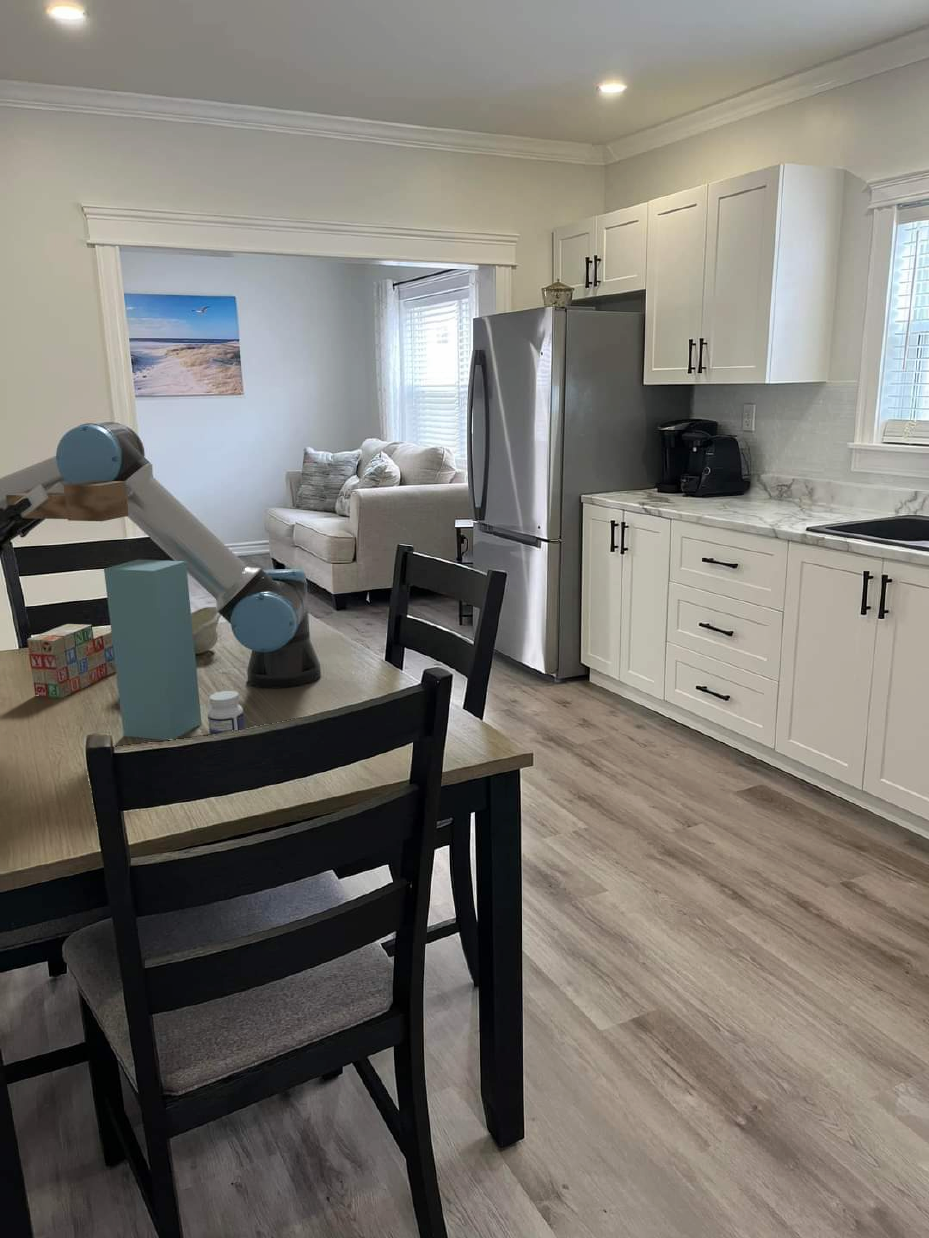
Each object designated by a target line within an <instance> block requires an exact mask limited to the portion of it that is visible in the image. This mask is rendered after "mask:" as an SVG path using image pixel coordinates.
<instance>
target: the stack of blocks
mask: <svg viewBox="0 0 929 1238" xmlns="http://www.w3.org/2000/svg"><path fill="white" fill-rule="evenodd" d="M27 646H28V657H29V665H30V669H31V673H32V674H31V675H32V682H33V688H34V689H33V690H34V696H35V695H39V696H44V697H43V698H56V699H62V698H64V697H66V696H68V695H71V694H74V693H75V692H77V691H80V690H82V689H83V688H86V687H88V686H90V685H91V684H94V683H95V682H98V681H99V680H102V679H103V678H106V677H109V676H110V675H112V674H114V673H116V666H115V658H114V650H113V641H112V633H111V627H102V626H101V627H100V626H95V627H93V625H92V624H78V623H77V624H76V623H75V624H74V623H66V624H63V625H61V626H58V627H55V628H52V629H50V630H48V631H46V632H42V633H40V634H38V635H34V636H31V637H29V638H27ZM39 696H38V697H39Z"/></svg>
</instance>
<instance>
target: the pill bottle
mask: <svg viewBox="0 0 929 1238" xmlns="http://www.w3.org/2000/svg"><path fill="white" fill-rule="evenodd" d="M239 696H240V695H239V693H238V691H234V690H224V691H222V690H221V691H218V692H214V693H213V694H211V695H209V704H210V705H211V708H209V709H208V712H207V717H208V718H207V719H208V729H209V730H208V731H209V735H212V734H218V733H222V732H227V731H232V730H243V729H245V730H246V727H245V716H244V709H243V707H242V706H241V705H240V704H238V703H239V701H240V697H239Z"/></svg>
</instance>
